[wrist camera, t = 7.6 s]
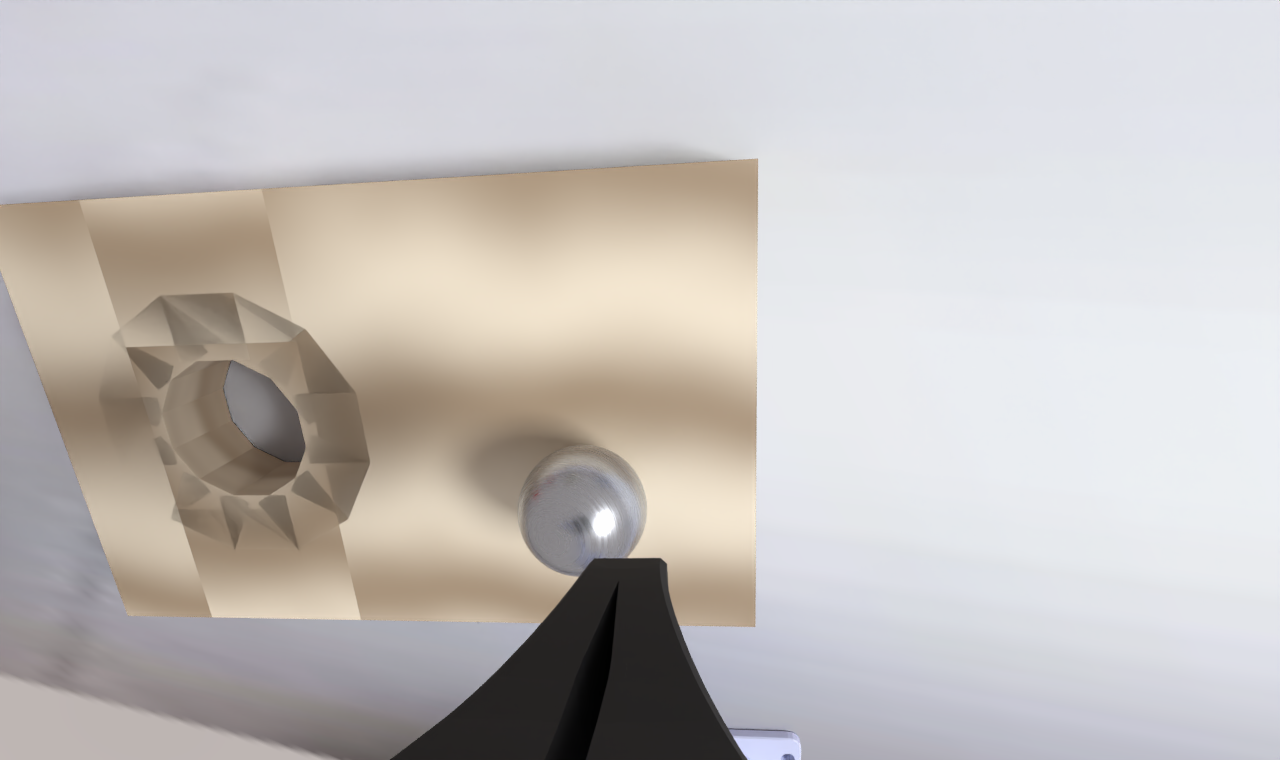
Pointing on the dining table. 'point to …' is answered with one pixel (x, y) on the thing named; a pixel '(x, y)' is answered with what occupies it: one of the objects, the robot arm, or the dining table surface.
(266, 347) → the birch plate
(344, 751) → the dining table surface
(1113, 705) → the dining table surface
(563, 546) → the silver metal ball
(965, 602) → the dining table surface
